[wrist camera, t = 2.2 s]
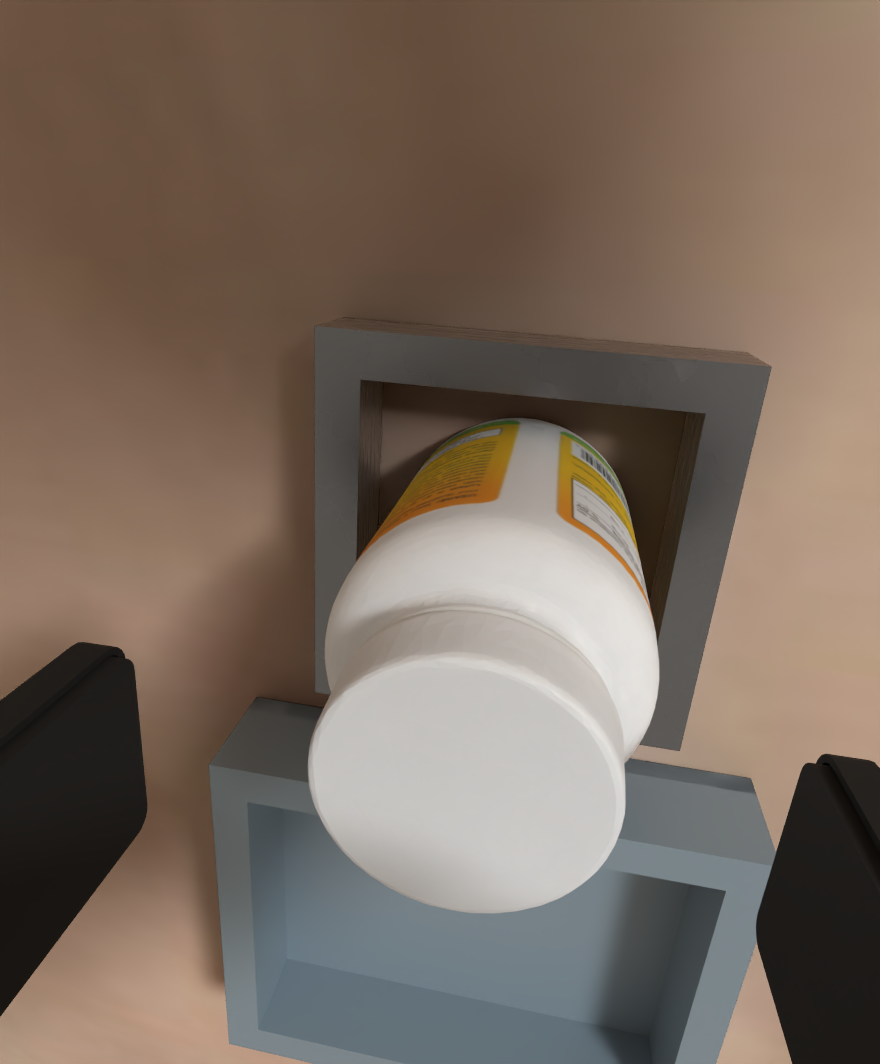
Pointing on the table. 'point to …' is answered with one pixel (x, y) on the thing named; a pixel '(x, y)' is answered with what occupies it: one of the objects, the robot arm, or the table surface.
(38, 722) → the robot arm
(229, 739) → the tray
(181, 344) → the table surface
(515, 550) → the supplement bottle
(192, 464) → the table surface
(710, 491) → the cradle
